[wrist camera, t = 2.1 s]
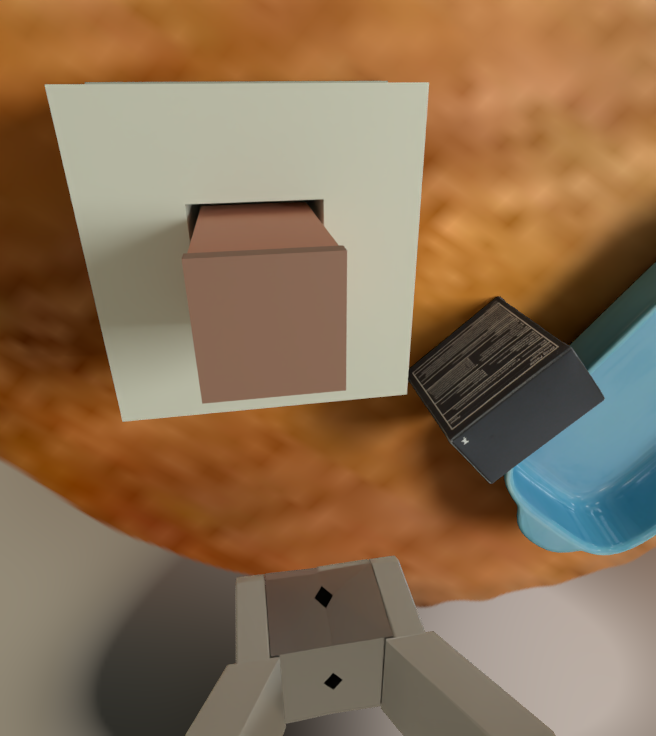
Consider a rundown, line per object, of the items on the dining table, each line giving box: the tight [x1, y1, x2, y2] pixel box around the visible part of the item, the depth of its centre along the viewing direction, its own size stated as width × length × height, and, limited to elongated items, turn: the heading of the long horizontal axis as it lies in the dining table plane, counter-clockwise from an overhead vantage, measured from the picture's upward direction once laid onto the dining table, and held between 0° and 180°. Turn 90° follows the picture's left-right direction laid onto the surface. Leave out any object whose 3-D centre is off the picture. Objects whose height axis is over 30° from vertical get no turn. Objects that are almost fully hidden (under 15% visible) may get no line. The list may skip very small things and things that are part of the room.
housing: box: [45, 81, 429, 422], centre depth 33 cm, size 19×19×10 cm
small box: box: [408, 296, 605, 484], centre depth 41 cm, size 11×6×10 cm, turn 131°
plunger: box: [181, 202, 347, 404], centre depth 26 cm, size 6×6×12 cm
